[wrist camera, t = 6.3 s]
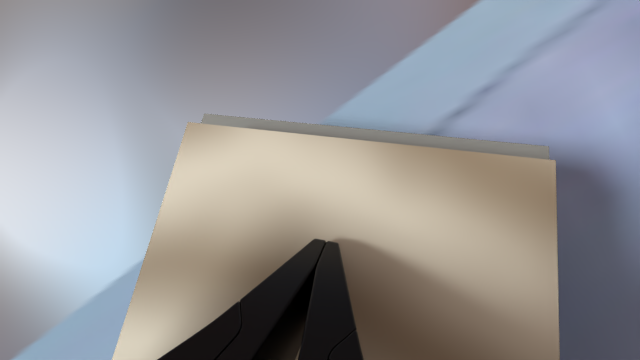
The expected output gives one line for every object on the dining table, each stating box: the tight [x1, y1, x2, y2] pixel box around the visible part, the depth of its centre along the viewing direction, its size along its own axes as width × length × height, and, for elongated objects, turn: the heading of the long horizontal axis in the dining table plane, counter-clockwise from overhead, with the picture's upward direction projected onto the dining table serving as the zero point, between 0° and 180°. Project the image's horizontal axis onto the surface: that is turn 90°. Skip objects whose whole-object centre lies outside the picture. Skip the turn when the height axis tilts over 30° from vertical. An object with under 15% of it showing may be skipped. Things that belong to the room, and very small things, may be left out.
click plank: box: [112, 122, 560, 360], centre depth 9 cm, size 13×14×1 cm
